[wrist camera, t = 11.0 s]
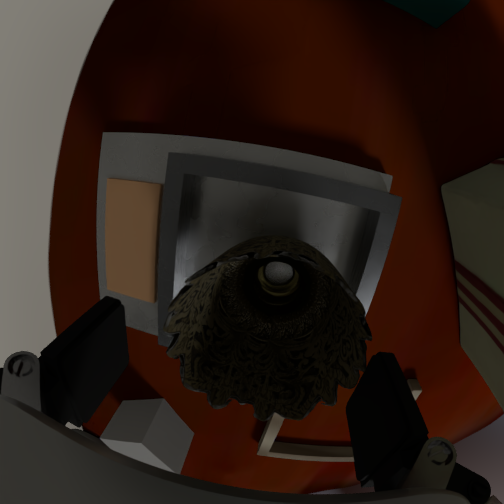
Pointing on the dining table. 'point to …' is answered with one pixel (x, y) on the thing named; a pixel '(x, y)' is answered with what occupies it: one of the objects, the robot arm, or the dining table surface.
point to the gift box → (480, 267)
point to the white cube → (149, 434)
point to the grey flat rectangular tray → (227, 215)
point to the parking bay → (308, 451)
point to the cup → (268, 330)
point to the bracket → (431, 9)
